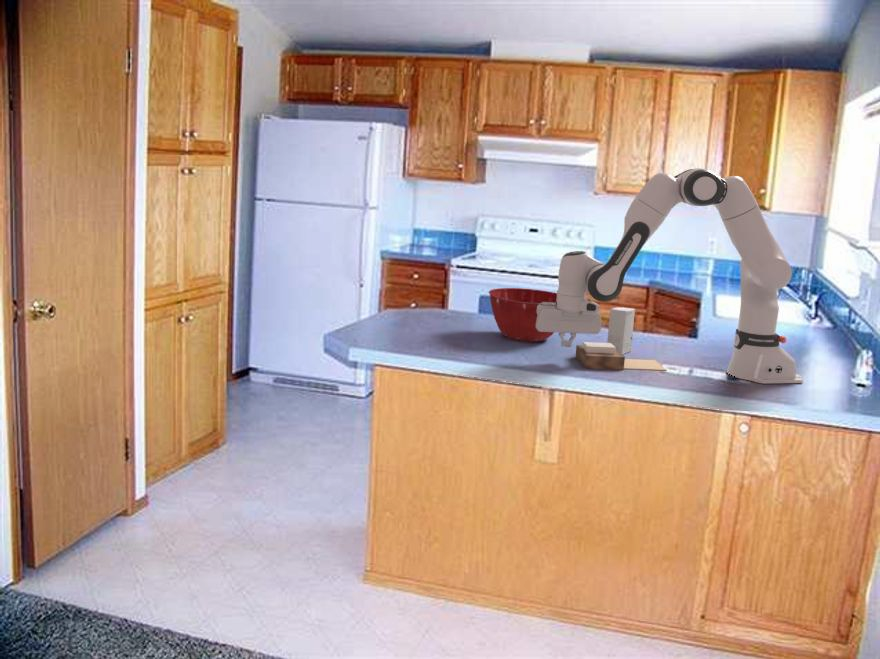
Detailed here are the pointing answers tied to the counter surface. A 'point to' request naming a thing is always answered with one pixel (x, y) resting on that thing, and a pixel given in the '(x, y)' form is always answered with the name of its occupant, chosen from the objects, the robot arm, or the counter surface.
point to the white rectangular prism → (599, 347)
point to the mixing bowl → (519, 312)
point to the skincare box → (621, 328)
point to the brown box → (600, 359)
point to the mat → (642, 364)
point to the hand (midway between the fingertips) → (566, 346)
